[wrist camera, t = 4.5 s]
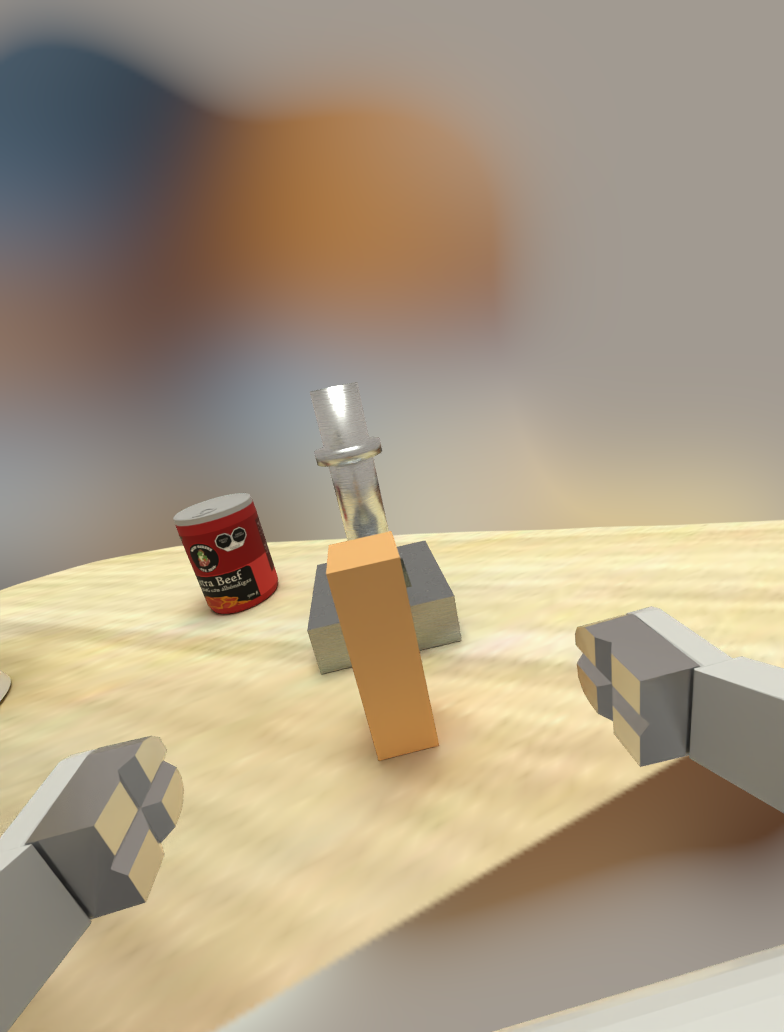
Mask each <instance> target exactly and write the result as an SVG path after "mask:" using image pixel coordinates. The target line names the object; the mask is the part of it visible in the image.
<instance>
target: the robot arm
mask: <svg viewBox="0 0 784 1032" xmlns="http://www.w3.org/2000/svg"><path fill="white" fill-rule="evenodd" d="M575 642H576V646H577V647H578V648H579V649H580V650H581V651H582V652H583V654H582V656H581V657H580V659H579V661H578V662H577V669H578V678H579V681H580V683H581V686H582V689H583V692H584V694H585V695H586V697H587V699H588V701H589V702H590V704H591V705H592V706H593V708H594V709H595V710H596V712H597V713H598V714H600V715H602V716H604V717H606V718H608V719H610V720H612V721H613V727H614V735H615V736H616V737H617V738H618V740H619V741H620V742H621V743H622V745H623V746H624V747H625V748H626V750H627V751H628V752H629V753H630V755H631V756H632V757H633V759H634V760H635V761H636V762H637V764H638V765H639V766H640V767H642V766H646V765H650V764H654V763H658V762H662V761H667V760H671V759H675V758H679V757H683V756H688V755H689V758H690V759H692V760H693V761H695V762H697V763H699V764H700V765H702V766H704V767H706V768H707V769H709V770H711V771H712V772H714V773H716V774H718V775H719V776H721V777H723V778H724V779H726V780H728V781H730V782H731V783H733V784H735V785H736V786H738V787H740V788H742V789H743V790H745V791H747V792H748V793H750V794H752V795H754V796H755V797H757V798H759V799H760V800H762V801H764V802H766V803H767V804H769V805H771V806H772V807H774V808H776V809H778V810H779V811H781V812H783V813H784V668H780V667H777V666H773V665H770V664H766V663H763V662H759V661H756V660H752V659H749V658H745V657H742V656H741V657H737V658H731V657H730V656H728V655H727V654H725V653H724V652H722V651H721V650H719V649H718V648H717V647H715V646H714V645H712V644H711V643H709V642H708V641H706V640H705V639H703V638H702V637H700V636H699V635H698V634H696V633H695V632H693V631H692V630H690V629H689V628H687V627H686V626H684V625H683V624H681V623H680V622H679V621H677V620H676V619H674V618H673V617H671V616H670V615H668V614H667V613H665V612H664V611H662V610H661V609H659V608H656V607H652V606H651V607H648V608H644V609H641V610H637V611H633V612H630V613H627V614H626V615H621V616H617V617H613V618H610V619H606V620H602V621H598V622H594V623H591V624H587V625H583V626H579V627H577V629H576V633H575ZM10 684H11V679H10V677H9V675H7V674H6V673H4V672H2V671H1V670H0V701H1V700H2V698H3V697H4V696H5V694H6V693H7V691H8V689H9V687H10ZM166 752H167V749H166V747H165V746H164V744H163V742H162V741H161V739H160V737H155V736H148V737H144V738H140V739H135V740H131V741H127V742H122V743H118V744H114V745H109V746H105V747H101V748H98V749H95V750H90V751H86V752H82V753H77V754H73V755H70V756H68V757H67V758H65V759H63V760H62V761H60V762H59V763H58V764H57V766H56V767H55V768H54V769H53V771H52V772H51V773H50V775H49V776H48V777H47V778H46V780H45V781H44V782H43V784H42V785H41V786H40V787H39V789H38V790H37V791H36V793H35V794H34V795H33V796H32V798H31V799H30V800H29V802H28V803H27V804H26V805H25V807H24V808H23V809H22V811H21V812H20V813H19V814H18V816H17V817H16V818H15V820H14V821H13V822H12V823H11V825H10V826H9V827H8V829H7V830H6V831H5V832H4V834H3V835H2V836H1V838H0V1032H7V1031H8V1030H9V1029H10V1027H11V1026H12V1025H13V1023H14V1022H15V1021H16V1020H17V1018H18V1017H19V1016H20V1014H21V1013H22V1012H23V1010H24V1009H25V1008H26V1007H27V1005H28V1004H29V1003H30V1001H31V1000H32V999H33V998H34V996H35V995H36V994H37V992H38V991H39V990H40V989H41V987H42V986H43V985H44V983H45V982H46V981H47V980H48V978H49V977H50V976H51V974H52V973H53V972H54V970H55V969H56V968H57V967H58V965H59V964H60V963H61V961H62V960H63V959H64V958H65V956H66V955H67V954H68V952H69V951H70V950H71V949H72V947H73V946H74V945H75V943H76V942H77V941H78V940H79V938H80V937H81V936H82V934H83V933H84V932H85V930H86V929H87V928H88V927H89V925H90V924H91V922H92V921H91V920H90V919H93V918H97V917H100V916H103V915H106V914H110V913H113V912H116V911H119V910H123V909H126V908H129V907H132V906H136V905H139V904H142V903H145V902H146V901H147V898H148V896H149V893H150V891H151V888H152V885H153V883H154V880H155V878H156V875H157V873H158V870H159V868H160V865H161V863H162V860H163V857H164V851H163V847H162V844H161V842H162V841H163V840H164V839H165V838H166V837H167V836H168V834H169V833H170V832H171V831H172V830H173V829H174V828H175V826H176V824H177V821H178V818H179V816H180V813H181V810H182V804H183V794H184V788H183V783H182V777H181V775H180V773H179V771H178V769H177V767H175V766H173V765H171V764H169V763H167V762H165V761H164V758H165V755H166ZM493 1032H784V944H783V945H780V946H776V947H773V948H770V949H766V950H763V951H760V952H756V953H753V954H750V955H746V956H743V957H740V958H736V959H733V960H730V961H726V962H723V963H720V964H716V965H713V966H709V967H706V968H703V969H700V970H696V971H693V972H689V973H686V974H683V975H680V976H676V977H673V978H670V979H666V980H663V981H660V982H656V983H653V984H649V985H646V986H643V987H639V988H636V989H633V990H630V991H626V992H623V993H620V994H616V995H613V996H609V997H606V998H603V999H599V1000H596V1001H593V1002H589V1003H586V1004H583V1005H580V1006H576V1007H573V1008H569V1009H566V1010H563V1011H560V1012H557V1013H553V1014H549V1015H546V1016H543V1017H539V1018H536V1019H533V1020H529V1021H527V1022H523V1023H519V1024H517V1025H513V1026H510V1027H506V1028H503V1029H499V1030H496V1031H493Z"/></svg>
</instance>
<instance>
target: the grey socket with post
mask: <svg viewBox="0 0 784 1032" xmlns="http://www.w3.org/2000/svg"><path fill="white" fill-rule="evenodd" d="M310 394H311V398H312V402H313V406H314V410H315V414H316V418H317V422H318V426H319V430H320V434H321V438H322V442H323V446H324V447H322V448H320V449H318V450H316V451H315V457H316V461H317V465H318V466H322V467H326V466H327V467H329V470H330V474H331V478H332V481H333V485H334V489H335V493H336V497H337V501H338V505H339V509H340V513H341V517H342V521H343V525H344V529H345V533H346V537H347V541H349V540H354V539H358V538H363V537H367V536H372V535H376V534H380V533H385V532H389V530H388V525H387V521H386V516H385V511H384V507H383V502H382V497H381V492H380V488H379V483H378V478H377V473H376V469H375V464H374V459H373V457H374V456H376V455H378V454H379V453H381V452H382V448H381V443H380V438H379V437H369V436H368V431H367V427H366V422H365V417H364V412H363V408H362V403H361V398H360V394H359V389H358V384H357V382H355V383H350V384H345V385H340V386H336V387H330V388H325V389H321V390H316V391H311V392H310ZM397 550H398V553H399V556H400V560H401V565H402V570H403V575H404V580H405V584H406V589H407V594H408V599H409V604H410V608H411V613H412V618H413V623H414V628H415V632H416V637H417V642H418V647H419V651H420V650H424V649H428V648H432V647H436V646H440V645H444V644H449V643H453V642H457V641H461V634H460V628H459V622H458V616H457V610H456V604H455V597H454V594H453V593H452V591H451V589H450V587H449V585H448V583H447V581H446V579H445V577H444V575H443V574H442V572H441V570H440V568H439V566H438V564H437V562H436V560H435V558H434V557H433V555H432V553H431V551H430V549H429V547H428V545H427V543H426V541H421V542H417V543H412V544H408V545H404V546H399V547H397ZM326 569H327V563H325V564H320V565H317V570H316V577H315V584H314V590H313V597H312V603H311V610H310V617H309V623H308V630H307V631H308V634H309V637H310V640H311V643H312V647H313V650H314V653H315V656H316V659H317V662H318V666H319V669H320V672H321V674H324V673H328V672H333V671H337V670H341V669H345V668H349V667H352V664H351V661H350V657H349V654H348V650H347V647H346V643H345V640H344V636H343V633H342V629H341V625H340V622H339V618H338V615H337V611H336V608H335V604H334V601H333V597H332V594H331V590H330V587H329V583H328V580H327V576H326Z"/></svg>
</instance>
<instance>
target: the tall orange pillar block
mask: <svg viewBox="0 0 784 1032" xmlns="http://www.w3.org/2000/svg"><path fill="white" fill-rule="evenodd" d="M326 576H327V580H328V583H329V587H330V590H331V594H332V597H333V601H334V604H335V608H336V611H337V615H338V618H339V622H340V625H341V629H342V633H343V636H344V640H345V643H346V647H347V650H348V654H349V657H350V661H351V664H352V668H353V671H354V675H355V678H356V682H357V686H358V689H359V693H360V696H361V700H362V703H363V707H364V710H365V714H366V717H367V721H368V724H369V728H370V732H371V735H372V739H373V742H374V746H375V749H376V753H377V756H378V760H379V761H380V760H384V759H388V758H392V757H396V756H400V755H404V754H408V753H411V752H415V751H419V750H423V749H427V748H431V747H435V746H439V743H438V738H437V733H436V728H435V724H434V719H433V714H432V709H431V704H430V700H429V695H428V690H427V685H426V680H425V676H424V671H423V666H422V661H421V656H420V652H419V647H418V642H417V637H416V632H415V628H414V623H413V618H412V613H411V608H410V604H409V599H408V594H407V589H406V584H405V580H404V575H403V570H402V565H401V560H400V556H399V553H398V550H397V547H396V544H395V541H394V538H393V535H392V532H391V531H389V532H385V533H380V534H376V535H372V536H367V537H363V538H358V539H354V540H349V541H345V542H341V543H336V544H332V545H329V548H328V559H327V569H326Z"/></svg>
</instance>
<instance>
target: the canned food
mask: <svg viewBox="0 0 784 1032" xmlns="http://www.w3.org/2000/svg"><path fill="white" fill-rule="evenodd" d="M174 521H175V525H176V528H177V530H178V533H179V536H180V538H181V541H182V543H183V546H184V548H185V550H186V553H187V555H188V558H189V560H190V563H191V565H192V567H193V570H194V572H195V575H196V577H197V580H198V582H199V584H200V587H201V589H202V592H203V594H204V596H205V599H206V601H207V604H208V606H209V607H210V608H211V609H212V610H213V611H214V612H216V613H220V614H231V613H236V612H240V611H243V610H246V609H249V608H251V607H253V606H255V605H257V604H259V603H261V602H263V601H264V600H265V599H267V598H268V597H269V596H270V595H272V593H273V592H274V591H275V590H276V588H277V585H278V577H277V573H276V570H275V567H274V564H273V561H272V558H271V555H270V552H269V549H268V545H267V542H266V539H265V536H264V533H263V530H262V527H261V524H260V521H259V518H258V515H257V511H256V508H255V506H254V503H253V500H252V498H251V496H250V495H249V494H245V493H240V494H231V495H226V496H221V497H217V498H213V499H210V500H207V501H204V502H201V503H198V504H196V505H193V506H190V507H188V508H186V509H184V510H182V511H180V512H179V513H178V514H176V515H175V516H174Z"/></svg>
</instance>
